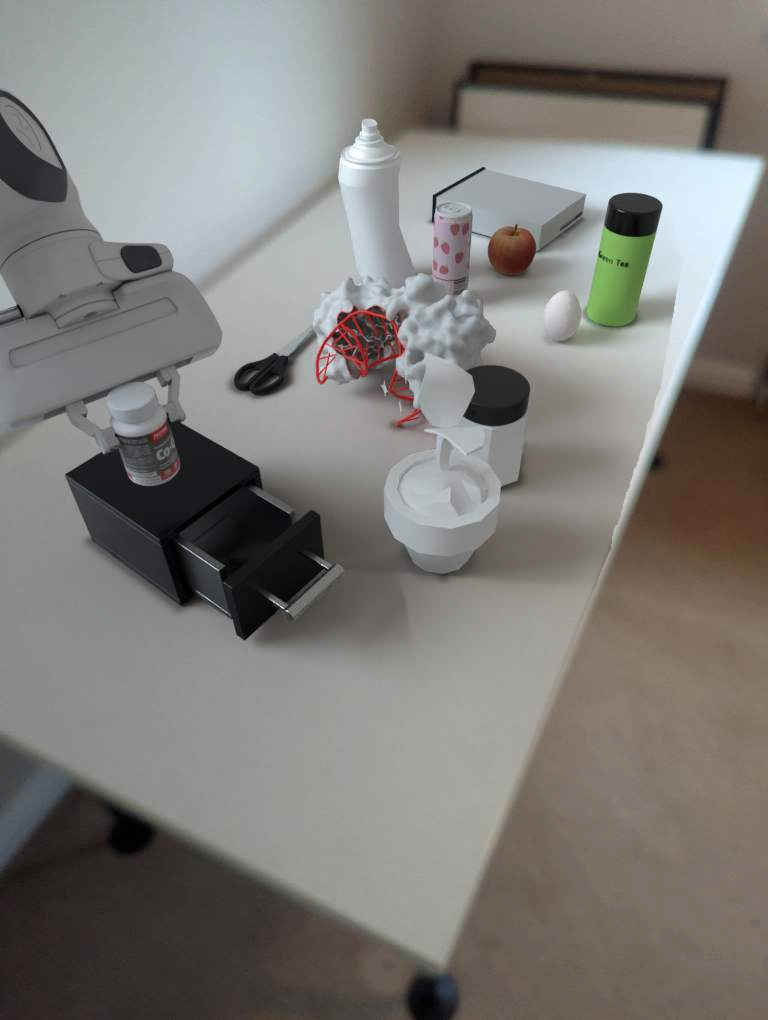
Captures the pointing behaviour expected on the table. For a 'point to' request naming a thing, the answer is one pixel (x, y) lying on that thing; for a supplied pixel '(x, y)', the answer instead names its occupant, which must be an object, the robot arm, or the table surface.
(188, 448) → the black drawer cabinet
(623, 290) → the tumbler
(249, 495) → the drawer
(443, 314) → the molecular structure model
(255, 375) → the scissors
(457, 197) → the disc drive
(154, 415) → the pill bottle
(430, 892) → the table surface
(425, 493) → the potted plant
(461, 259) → the beverage can
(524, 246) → the apple
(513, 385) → the jar
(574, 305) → the egg
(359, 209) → the spray can
